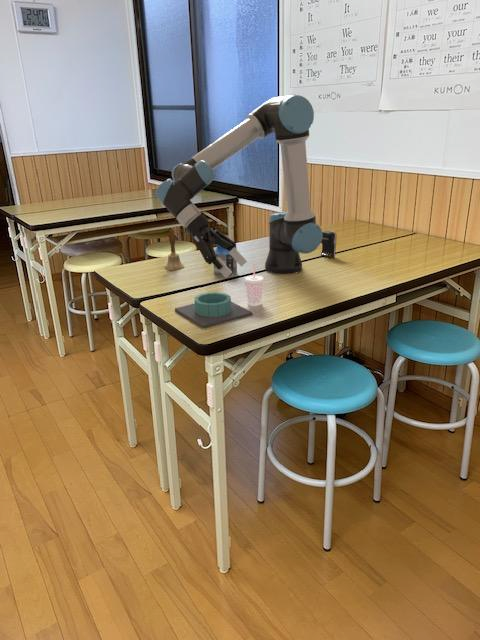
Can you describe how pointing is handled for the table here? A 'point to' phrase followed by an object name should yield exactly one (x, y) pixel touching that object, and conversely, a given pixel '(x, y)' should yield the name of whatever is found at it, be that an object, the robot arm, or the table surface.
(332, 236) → the battery charger
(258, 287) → the beverage cup
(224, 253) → the label tape box
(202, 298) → the cup holder
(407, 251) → the table surface
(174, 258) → the hand bell
